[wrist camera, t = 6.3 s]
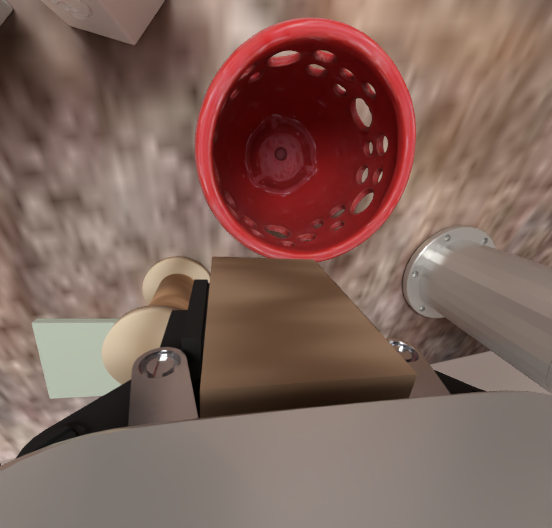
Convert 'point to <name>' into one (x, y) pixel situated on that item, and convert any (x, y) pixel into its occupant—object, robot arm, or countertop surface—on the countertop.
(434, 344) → the countertop surface
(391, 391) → the block
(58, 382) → the board
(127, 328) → the cream drawer knob
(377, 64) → the plant pot
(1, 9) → the small box
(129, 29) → the jar
